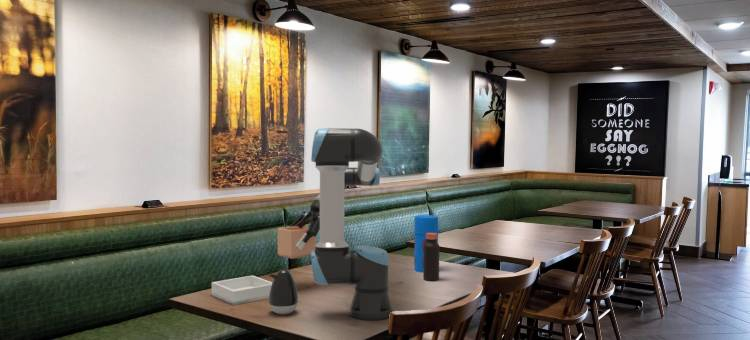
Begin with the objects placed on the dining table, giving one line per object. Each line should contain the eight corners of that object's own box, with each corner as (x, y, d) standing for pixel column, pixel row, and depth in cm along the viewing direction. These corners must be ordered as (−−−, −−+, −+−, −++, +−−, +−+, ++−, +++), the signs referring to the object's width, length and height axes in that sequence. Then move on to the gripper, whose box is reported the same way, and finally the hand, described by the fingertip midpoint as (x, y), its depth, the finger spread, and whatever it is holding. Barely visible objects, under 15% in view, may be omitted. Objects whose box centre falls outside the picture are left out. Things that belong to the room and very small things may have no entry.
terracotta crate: (316, 255, 242) (316, 228, 242) (291, 258, 235) (291, 231, 234) (302, 251, 250) (302, 225, 249) (277, 255, 242) (277, 228, 241)
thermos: (442, 270, 276) (442, 216, 275) (428, 273, 269) (428, 218, 267) (423, 266, 284) (424, 214, 282) (409, 270, 276) (409, 216, 275)
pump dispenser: (263, 311, 210) (263, 268, 209) (289, 306, 216) (289, 265, 215) (276, 318, 202) (275, 274, 201) (303, 313, 208) (303, 270, 207)
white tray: (276, 296, 229) (276, 283, 229) (233, 305, 218) (233, 291, 217) (252, 287, 243) (252, 275, 243) (211, 295, 231) (211, 282, 231)
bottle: (431, 282, 253) (431, 235, 252) (420, 279, 258) (420, 233, 257) (442, 279, 258) (442, 233, 257) (430, 276, 263) (431, 231, 262)
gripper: (343, 213, 243) (312, 256, 233) (312, 208, 260) (281, 248, 250) (333, 200, 239) (300, 244, 230) (301, 196, 256) (270, 236, 247)
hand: (290, 246), depth 240 cm, fingers closed on terracotta crate, 10 cm apart
